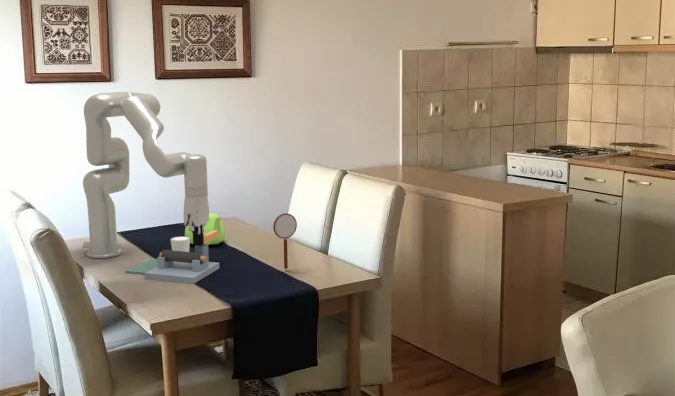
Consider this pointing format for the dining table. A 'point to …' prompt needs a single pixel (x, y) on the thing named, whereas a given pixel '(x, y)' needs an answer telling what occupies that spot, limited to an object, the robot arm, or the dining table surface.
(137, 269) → the mat
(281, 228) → the magnifying glass
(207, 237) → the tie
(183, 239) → the white cup
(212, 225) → the teapot
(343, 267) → the dining table surface
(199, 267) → the grey cradle stand
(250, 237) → the dining table surface
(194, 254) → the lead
